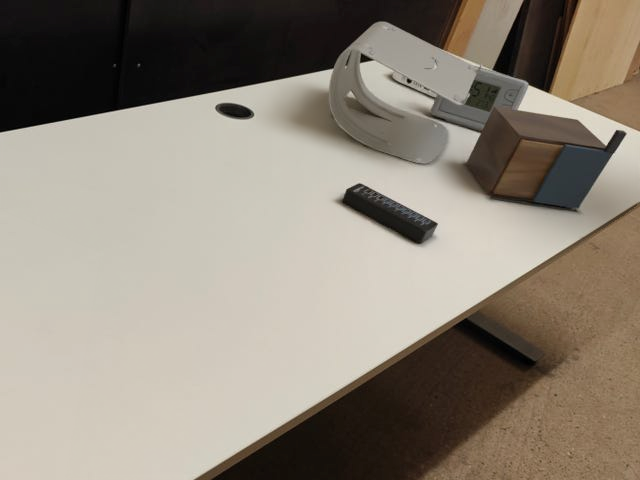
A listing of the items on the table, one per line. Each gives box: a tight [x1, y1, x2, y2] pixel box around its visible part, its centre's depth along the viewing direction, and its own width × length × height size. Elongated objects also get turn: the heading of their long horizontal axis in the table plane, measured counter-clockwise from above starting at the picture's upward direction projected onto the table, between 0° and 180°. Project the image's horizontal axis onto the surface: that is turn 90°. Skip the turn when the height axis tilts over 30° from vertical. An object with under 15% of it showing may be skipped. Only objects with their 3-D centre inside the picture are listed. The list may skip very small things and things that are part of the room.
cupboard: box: [466, 106, 607, 213], centre depth 119 cm, size 14×16×11 cm
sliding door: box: [531, 129, 628, 209], centre depth 113 cm, size 1×8×14 cm, turn 89°
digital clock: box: [430, 65, 529, 133], centre depth 139 cm, size 16×9×11 cm, turn 54°
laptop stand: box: [328, 21, 483, 165], centre depth 128 cm, size 26×24×16 cm
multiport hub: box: [341, 182, 439, 245], centre depth 105 cm, size 4×14×2 cm, turn 45°
